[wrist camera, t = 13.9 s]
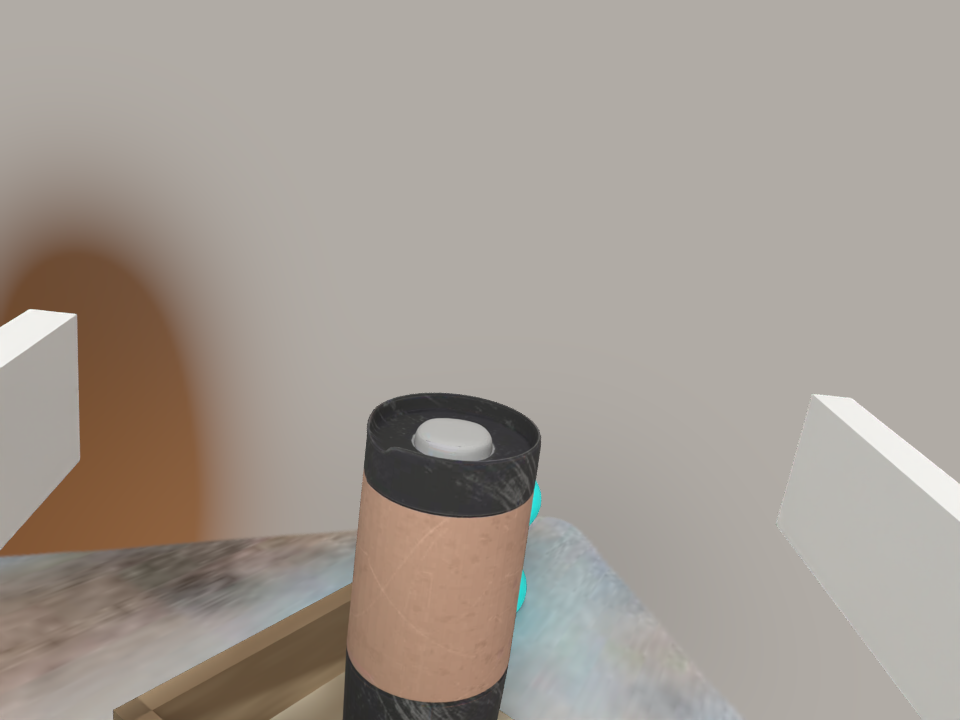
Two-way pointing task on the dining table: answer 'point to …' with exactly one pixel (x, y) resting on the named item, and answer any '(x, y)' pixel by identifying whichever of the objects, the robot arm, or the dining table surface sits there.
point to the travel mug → (438, 557)
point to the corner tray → (264, 674)
